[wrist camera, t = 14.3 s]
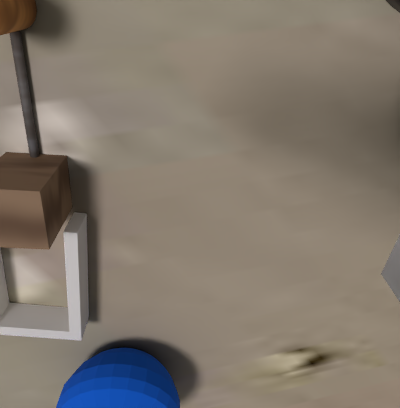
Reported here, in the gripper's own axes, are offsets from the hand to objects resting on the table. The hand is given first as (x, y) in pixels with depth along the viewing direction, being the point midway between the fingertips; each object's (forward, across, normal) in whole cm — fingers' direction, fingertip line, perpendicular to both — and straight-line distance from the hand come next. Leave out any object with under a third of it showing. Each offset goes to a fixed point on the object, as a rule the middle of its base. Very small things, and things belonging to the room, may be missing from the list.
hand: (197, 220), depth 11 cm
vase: (+32, -5, -50) cm, 60 cm away
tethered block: (+32, -17, -8) cm, 37 cm away
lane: (+32, -18, -29) cm, 47 cm away
